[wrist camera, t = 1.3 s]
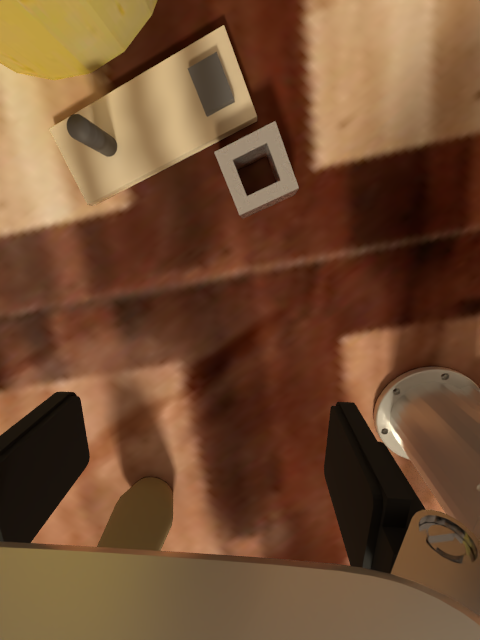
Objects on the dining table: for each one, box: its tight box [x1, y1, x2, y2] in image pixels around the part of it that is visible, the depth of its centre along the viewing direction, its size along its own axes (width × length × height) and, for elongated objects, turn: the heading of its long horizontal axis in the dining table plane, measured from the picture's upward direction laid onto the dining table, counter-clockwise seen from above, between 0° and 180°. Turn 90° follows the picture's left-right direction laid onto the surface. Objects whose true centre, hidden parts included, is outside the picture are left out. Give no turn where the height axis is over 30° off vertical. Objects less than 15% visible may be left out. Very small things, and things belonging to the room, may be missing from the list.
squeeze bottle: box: [97, 477, 173, 551], centre depth 34 cm, size 8×8×18 cm
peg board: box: [49, 25, 257, 206], centre depth 27 cm, size 20×8×6 cm, turn 113°
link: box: [214, 121, 299, 218], centre depth 29 cm, size 6×6×4 cm
